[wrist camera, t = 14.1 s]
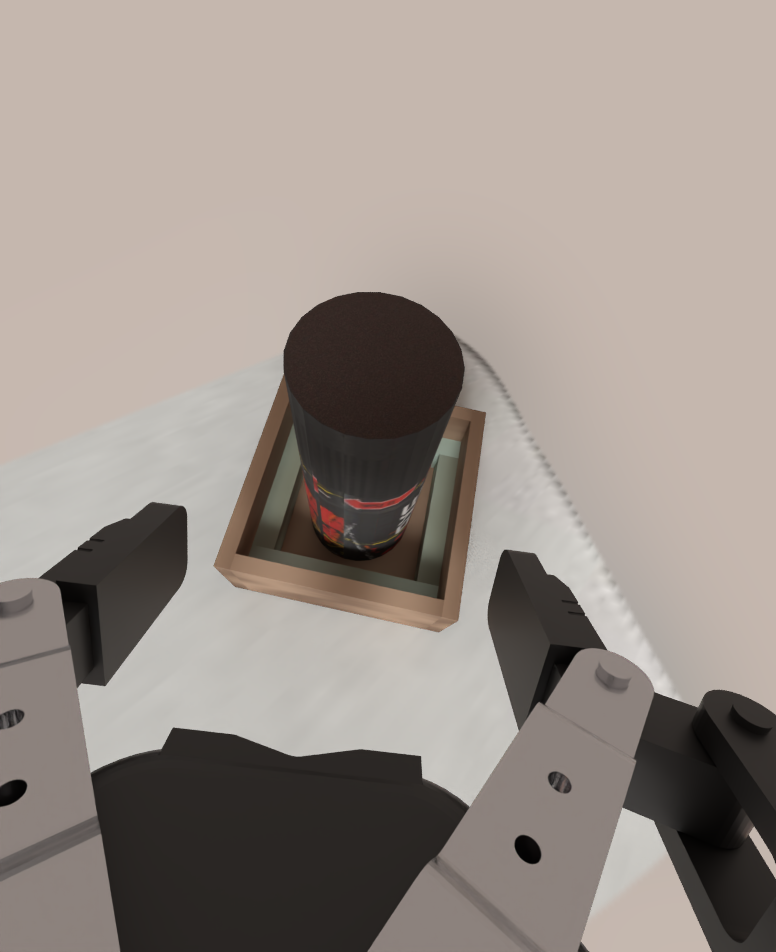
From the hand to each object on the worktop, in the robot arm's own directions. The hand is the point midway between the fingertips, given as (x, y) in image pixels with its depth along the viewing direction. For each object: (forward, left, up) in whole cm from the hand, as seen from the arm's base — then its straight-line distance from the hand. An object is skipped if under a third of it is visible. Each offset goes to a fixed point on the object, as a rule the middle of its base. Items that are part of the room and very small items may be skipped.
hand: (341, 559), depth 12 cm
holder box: (-1, +7, -16) cm, 18 cm away
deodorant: (-1, +7, -16) cm, 17 cm away
